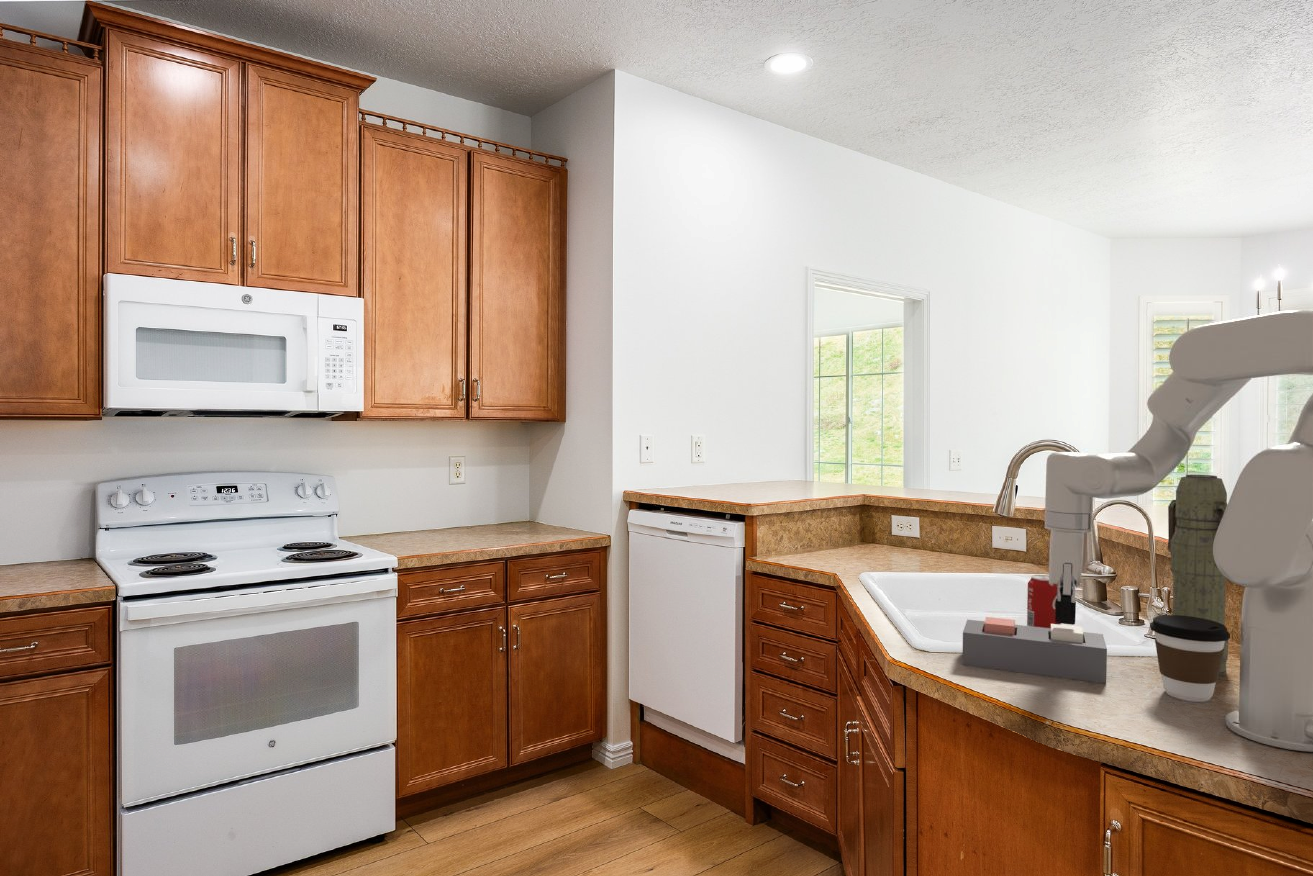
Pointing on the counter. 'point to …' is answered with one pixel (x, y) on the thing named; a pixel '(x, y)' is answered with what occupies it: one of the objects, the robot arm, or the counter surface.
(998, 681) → the counter surface
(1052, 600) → the beverage can
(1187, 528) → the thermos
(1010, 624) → the brick key
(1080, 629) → the ivory key
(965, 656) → the key panel
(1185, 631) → the coffee cup
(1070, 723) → the counter surface
